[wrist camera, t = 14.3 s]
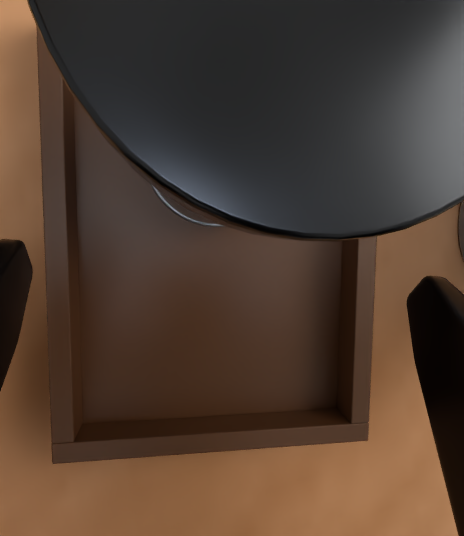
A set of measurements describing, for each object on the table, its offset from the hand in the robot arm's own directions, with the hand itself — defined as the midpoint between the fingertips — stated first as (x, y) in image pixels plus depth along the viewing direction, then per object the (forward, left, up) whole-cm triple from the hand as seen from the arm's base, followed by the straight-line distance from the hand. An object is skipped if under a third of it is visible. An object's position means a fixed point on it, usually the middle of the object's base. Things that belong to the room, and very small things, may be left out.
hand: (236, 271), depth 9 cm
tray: (+1, 0, -8) cm, 8 cm away
